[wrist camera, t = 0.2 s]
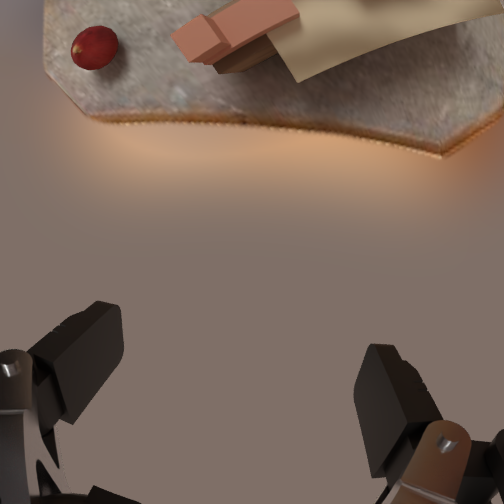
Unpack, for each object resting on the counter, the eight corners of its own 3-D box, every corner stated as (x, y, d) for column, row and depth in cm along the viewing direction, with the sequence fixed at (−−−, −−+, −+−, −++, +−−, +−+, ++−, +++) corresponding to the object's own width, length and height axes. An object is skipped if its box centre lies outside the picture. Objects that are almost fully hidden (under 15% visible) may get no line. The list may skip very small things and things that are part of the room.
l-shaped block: (192, 37, 20) (168, 32, 16) (279, -12, 17) (273, -30, 13) (211, 64, 21) (190, 65, 17) (299, 16, 18) (299, 4, 14)
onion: (86, 50, 30) (47, 54, 24) (112, 18, 28) (74, 15, 21) (110, 75, 32) (72, 83, 26) (137, 44, 30) (101, 43, 23)
